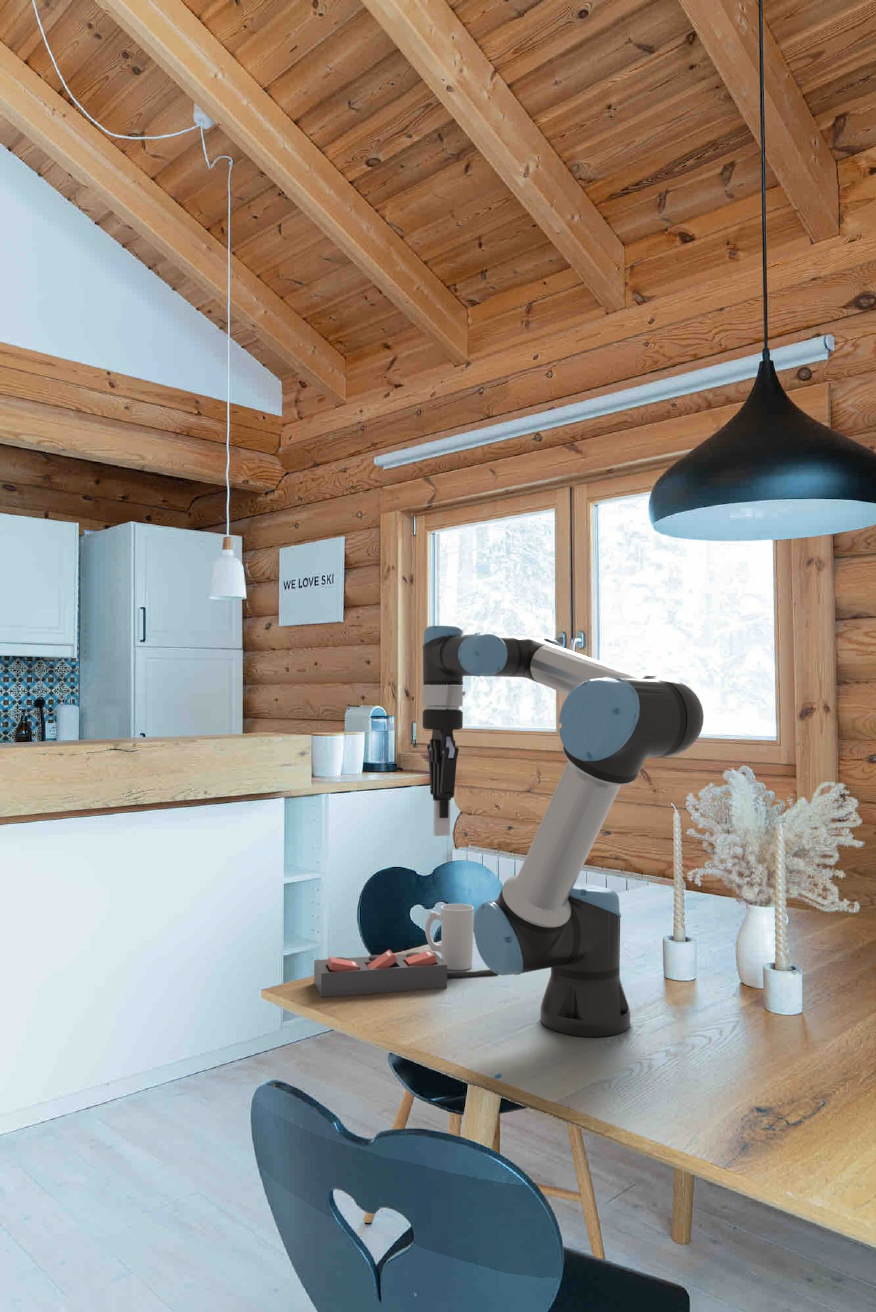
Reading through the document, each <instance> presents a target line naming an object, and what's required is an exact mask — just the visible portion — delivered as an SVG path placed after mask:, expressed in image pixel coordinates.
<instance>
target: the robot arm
mask: <svg viewBox="0 0 876 1312" xmlns="http://www.w3.org/2000/svg"><path fill="white" fill-rule="evenodd" d="M422 674H423V675H422V682H423V685H422V706H423V707H425V709H424V710H423V711H422V729H424V730H429V731H430V730H431V731H432V732H431V738H430V739H429V743H427V745H426V748H427V753H428V768H429V772H428V773H429V785H430V787H429V789H430V790H429V791H430V793H429V794H430V795H432V800H433V836H435V837H441V836H442V837H443V836H445V837H446V836H447V837H448V836H450V834H451V829H450V828H451V827H450V826H451V821H450V820H451V813H450V812H451V801H452V800H451V799H453V798H454V796H455V786H456V785H455V783H456V774H457V772H456V771H457V764H458V763H457V761H458V755H459V751H460V750H459V747H458V746H456V740H455V738H454V731H455V730H456V731H458V730H462V728H463V726H464V725H463V724H464V723H463V721H464V719H463V718H464V717H463V716H464V712H463V711H462V709H460V707H462V706H463V704H464V703H463V702H464V701H463V699H464V698H463V697H464V696H466V691H465V690H464V689H463V687H464V677H498V678H499V677H500V678H501V677H504V678H505V677H506V678H507V677H509V678H511V677H512V678H524V679H528V680H531V681H532V682H536V683H538V684H541V685H543V686H546V687H548V688H550V689H552V690H554V691H557V692H560V693H561V694H564V695H566V698H565V700H564V701H563V704H562V706H561V707H560V713H559V717H558V723H559V724H561V727H560V728H559V729H558V732H559V733H558V734H559V736H560V737H559V738H560V741H561V743H562V745H563V746H562V752H563V755H564V757H565V759H566V761H567V763H566V764H565V767H564V769H563V771H562V774H561V775H560V779H559V781H558V783H557V786H556V788H555V790H554V791H553V794H552V797H551V799H550V801H549V803H548V806H547V808H546V811H545V813H544V815H543V818H542V819H541V822H540V825H539V827H538V829H537V831H536V833H535V836H534V838H533V840H532V842H531V845H530V847H529V849H528V852H527V854H526V856H525V858H524V861H523V862H522V866H521V868H520V870H519V872H518V874H517V875H512V876H511V877H509V878H508V879H506V881H504V883H503V885H502V888H501V890H500V892H499V895H498V897H497V899H496V900H494V901H493V900H486V902H483V903H481V904H480V905H479V906H478V907H477V909H476V910H475V913H474V923H473V938H474V940H475V946H476V947H477V948H476V949H477V951H478V954H479V956H480V958H481V960H482V961H483V963H484V964H485V966H487V968H488V970H492V971H493V972H494V973H496V974H495V975H500V976H510V975H511V976H512V975H515V976H517V975H518V976H519V975H521V974H524V973H530V972H534V971H535V972H536V971H541V970H545V969H550V977H549V979H548V982H547V986H546V989H545V992H544V995H543V998H542V1001H541V1004H540V1019H539V1020H540V1022H541V1024H542V1025H544V1026H545V1027H547V1028H549V1029H551V1030H552V1031H555V1032H558V1033H562V1034H566V1035H570V1036H571V1035H572V1036H577V1037H587V1038H588V1037H590V1038H591V1037H597V1038H598V1037H608V1036H613V1035H618V1034H621V1033H623V1032H625V1031H627V1030H628V1029H629V1028H630V1026H631V1011H630V1010H631V1009H630V1007H629V1003H628V1001H627V997H626V994H625V991H624V988H623V984H622V981H621V978H620V977H621V975H620V970H621V969H620V968H621V966H620V965H621V963H620V961H621V954H620V953H621V950H620V949H621V917H622V914H621V912H620V911H621V910H620V898H619V896H618V894H617V892H616V891H615V890H613V889H610V888H608V887H604V886H601V885H595V884H589V883H582V882H577V880H578V878H579V876H580V873H581V871H582V870H583V867H584V865H585V863H586V861H587V859H588V857H589V854H590V853H591V851H592V849H593V845H594V844H595V842H596V839H597V838H598V835H599V834H600V831H601V829H602V827H603V825H604V823H605V820H606V818H607V817H608V814H609V812H610V810H611V808H612V807H613V804H614V801H615V799H616V797H617V795H618V793H619V792H620V791H619V790H620V789H621V787H623V786H628V785H631V784H632V783H634V782H635V781H636V780H637V777H638V775H639V773H640V771H641V769H642V767H643V765H644V763H645V761H646V760H647V759H651V758H665V757H666V758H668V757H673V756H677V755H679V754H681V753H683V752H685V751H686V750H688V749H689V748H690V747H692V745H694V744H695V742H696V741H697V739H698V738H699V736H700V734H701V732H702V728H703V725H704V710H703V706H702V703H701V701H700V699H699V697H698V696H697V694H696V693H695V692H694V691H693V689H692V688H690V687H688V686H687V685H686V684H684V683H682V682H679V681H677V680H673V679H671V678H667V677H663V676H661V675H657V674H646V675H644V676H642V675H639V674H636V673H633V672H631V671H627V670H625V669H622V668H620V667H617V666H614V665H611V664H608V663H605V662H603V661H601V660H597V659H595V658H592V657H588V656H586V655H583V654H581V653H577V652H576V651H572V650H569V649H567V648H565V647H562V646H561V645H560V644H559V641H557V640H555V639H553V638H549V637H545V636H544V637H543V636H535V637H533V636H512V635H498V634H497V635H496V634H494V633H490V632H489V633H488V632H475V633H473V634H472V633H471V634H464V629H463V628H462V627H461V626H459V625H446V624H445V625H441V624H440V625H430V626H427V627H426V628H425V629H424V632H423V644H422Z"/></svg>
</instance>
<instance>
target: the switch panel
mask: <svg viewBox="0 0 876 1312" xmlns="http://www.w3.org/2000/svg"><path fill="white" fill-rule="evenodd" d="M431 952H432V953H433V954H434V955H435V958H436V963H433V964H430V965H420V966H407V965H406V963H405V959H404V958H407V957H410V956H413V955H416V954H419V953H420V952H416V951H413V952H409V953H405V954H394V955H395V957H396V959H397V960H398V961H396V962H395V963H394V964H392V965H391V966H389V967H388V968H377V969H369V968H368V967H367V965H368V964H369V963H371V962H372V961H374V960H375V959H376V958H378V957H379V956H381V955H382V954H372V955H369V956H361V957H359V956H358V957H342V956H340V957H335V958H338V959H344V960H349V961H354V962H356V964H357V965H358V966H359V969H358V970H348V971H334V970H330V968H329V967H328V965H327V962H328V959H329V958H328V959H315V960H314V964H313V965H314V966H313V967H314V968H313V985H314V986H315V988H316V990H317V991H318V994H319V996H320V998H329V997H331V998H332V997H340V996H341V997H342V996H343V997H344V996H356V995H357V996H358V995H368V994H369V995H370V994H383V993H393V992H394V993H395V992H407V991H408V992H409V991H421V990H422V991H423V990H432V989H433V990H434V989H447V988H448V979H451V978H452V979H453V978H465V977H479V976H481V977H482V976H493V975H497V974H496V973H494V972H493V971H492V970H490V969H478V970H477V969H476V970H467V971H466V970H462V971H452V972H451V971H450V972H448V969H447V964H446V963H445V962H444V961H443V960H442V957H440V956H439V955H438V954H437V952H436V951H431ZM314 977H315V978H314Z"/></svg>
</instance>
